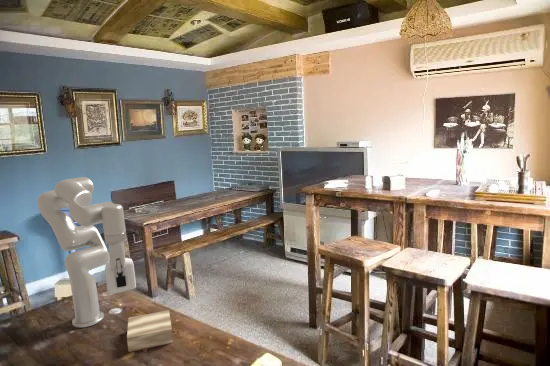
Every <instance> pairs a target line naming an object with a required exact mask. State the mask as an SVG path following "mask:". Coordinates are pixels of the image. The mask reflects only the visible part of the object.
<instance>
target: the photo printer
mask: <svg viewBox="0 0 550 366" xmlns="http://www.w3.org/2000/svg"><path fill="white" fill-rule="evenodd" d="M120 262H121V261H120ZM121 268H122V266H121ZM121 271H122V270H121ZM117 272H118V270H117ZM104 274H105V280H106V281H105V282H106V289H107V294H108V295H114V294H118V293H122V292H126V291H130V290H135V289H136V288H137V283H136V282H137V281H136V275H135V265H134V262H133V259H132V258H128V257H125V268H124V275H125V278H126V286H123V287H117V282H116V269H115V270H113V271H112V270H111V262H110V261H109V262H108V263H107V264H105V268H104Z"/></svg>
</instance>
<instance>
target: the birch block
mask: <svg viewBox="0 0 550 366" xmlns="http://www.w3.org/2000/svg"><path fill="white" fill-rule="evenodd" d="M170 314H171V313H170V309H166V310H162V311H158V312H157V311H156V312H153V313H147V314H146V313H145V314H140V315H136V316H130V317H128V320H127V332H126V333H127V334H126V342H127V350H128V351H127V352H128V353H131V352H135V351H140V350H145V349H149V348H153V347H154V348H155V347H158V346H162V345H168V344H172V343H173V342H174V340H173V339H174V338H173V331H172V330H173V328H172V320H171V315H170ZM144 348H145V349H144Z"/></svg>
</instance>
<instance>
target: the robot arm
mask: <svg viewBox="0 0 550 366" xmlns="http://www.w3.org/2000/svg"><path fill="white" fill-rule="evenodd" d="M94 190H95V185H94V183H93V181H92V180H91V179H90V178H88V177H86V176H79V177H74V178H67V179H63V180H61V181H58V182H57V183H56V185H55V186H54V190H53V189H52V190H48V191H45V192H43V193H41V194H39V196H38V197H37V208H38V209H39V212H40V214H41V216H42V217H43V218H44V219H45V221H46V222H47V223H48V224H49V226H50V227H51V229H52V231H53V233H54V236H55V237H56V240H57V242H58V244H59V246H60V248H61V249H62V250H63V251H65V252H70V251H72V252H70V253H69V254H67V255H66V257H65V259H64V265H65V268H66V271H67V275H68V278H69V281H70V288H71V289H70V290H71V296H72V302H73V309H74V310H73V311H74V316H75V317H74V318H72V320H71V322H72V323H71V324H72V326H73V327H74V328H87V327H90V326H94V325H96V324H98V323H100V322H102V320H103V319H104V318H105V314H104V312H103V311H100V304H99V296H98V291H97V290H98V289H97V281H96V278H95V277H94V275H92V274H91V273H89V271H91V270H94V269H97V268H100V267H103V266H106V264H107V263H109V262H111V270H112V271H113V270H115V269H116V282H117V287H123V286H126V278H125V275H124V268H125V258H126V251H125V250H126V248H125V242H126V241H127V239H128V236H127V229H126V228H127V227H126V221H125V214H124V206H123V205H122V204H119V203H114V202H112V201H104V202H99V203H95V204H91V203H92V200H93V194H94ZM67 208H68V213H69V214H67V213H66V212H64V211H61V210H62V209H67ZM74 221H75V222H76V223H77V224H78V226H77V225H76V224H75V223H74ZM100 224H102V228H103V236H104V239H103V237H102V235H101V233H100V231H99V230H98V228H97V227H96V226H95V225H100ZM107 245H108V247H107ZM120 261H121V262H120ZM121 266H122V268H121ZM117 270H118V272H117ZM121 270H122V271H121Z"/></svg>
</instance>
